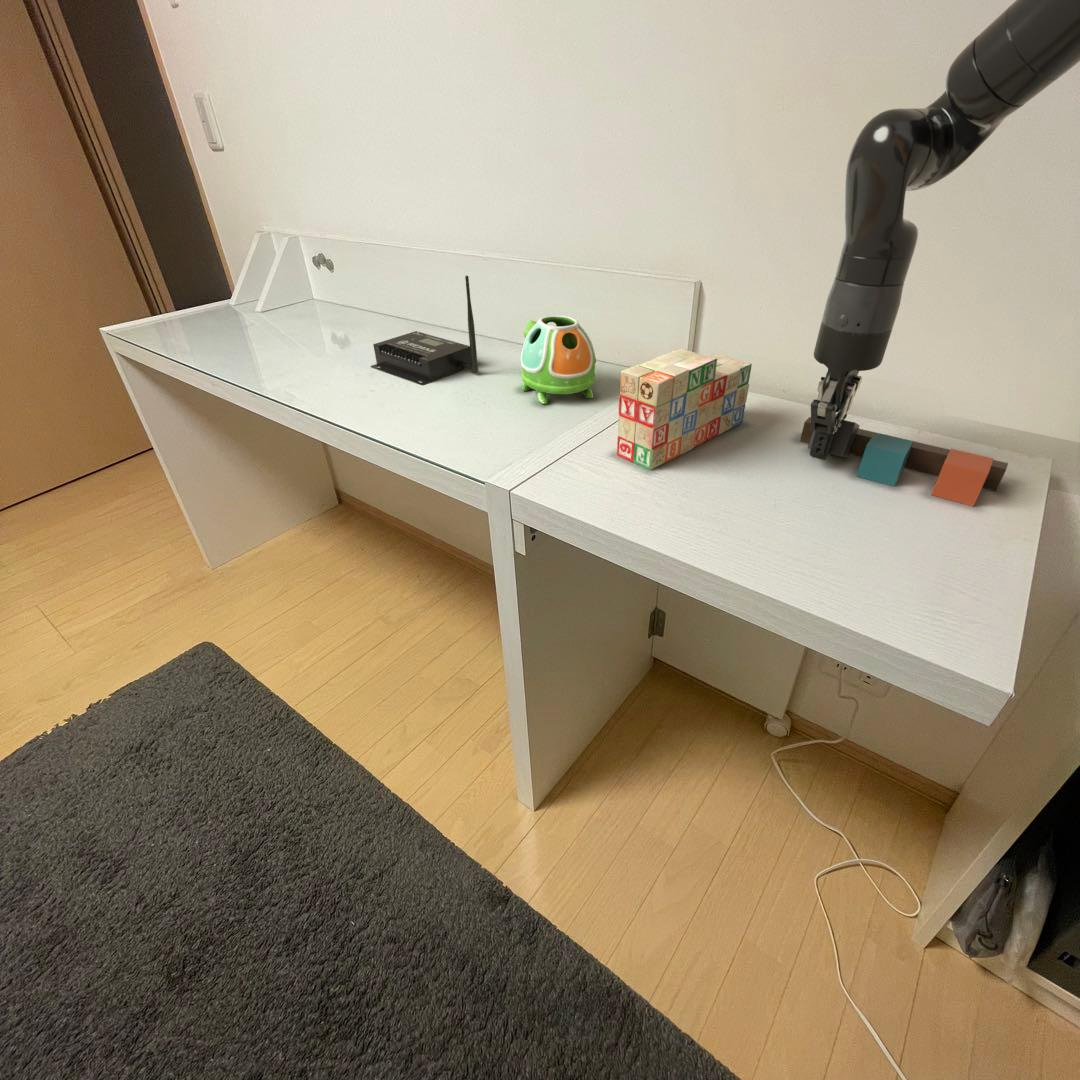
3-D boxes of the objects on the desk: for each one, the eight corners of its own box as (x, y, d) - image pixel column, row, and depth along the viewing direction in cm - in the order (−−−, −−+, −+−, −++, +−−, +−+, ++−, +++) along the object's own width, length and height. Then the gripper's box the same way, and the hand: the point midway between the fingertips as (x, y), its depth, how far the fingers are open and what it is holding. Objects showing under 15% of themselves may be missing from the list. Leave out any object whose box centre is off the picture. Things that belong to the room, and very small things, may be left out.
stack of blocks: (708, 411, 96) (720, 332, 89) (743, 423, 92) (757, 342, 85) (615, 455, 85) (620, 369, 78) (650, 471, 81) (658, 382, 74)
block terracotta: (979, 490, 75) (994, 458, 72) (973, 506, 72) (988, 473, 70) (938, 480, 77) (951, 448, 75) (930, 495, 75) (944, 462, 72)
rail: (998, 484, 76) (1008, 463, 74) (996, 491, 75) (1006, 469, 73) (804, 436, 88) (809, 416, 87) (799, 441, 87) (804, 421, 85)
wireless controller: (369, 366, 117) (351, 271, 107) (425, 347, 126) (413, 258, 116) (437, 390, 106) (424, 287, 96) (494, 368, 115) (487, 271, 105)
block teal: (902, 472, 79) (913, 440, 77) (894, 486, 76) (905, 454, 74) (865, 462, 82) (875, 432, 79) (856, 476, 79) (866, 445, 76)
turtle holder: (563, 365, 115) (562, 299, 108) (609, 398, 101) (612, 326, 94) (501, 376, 111) (497, 308, 104) (540, 412, 98) (538, 337, 91)
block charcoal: (847, 457, 83) (859, 425, 82) (842, 456, 79) (855, 422, 78) (814, 449, 85) (825, 417, 84) (807, 448, 81) (819, 414, 80)
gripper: (877, 341, 64) (833, 485, 74) (905, 313, 72) (863, 445, 82) (805, 329, 68) (772, 467, 78) (840, 304, 76) (806, 431, 86)
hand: (819, 456), depth 80 cm, fingers closed
